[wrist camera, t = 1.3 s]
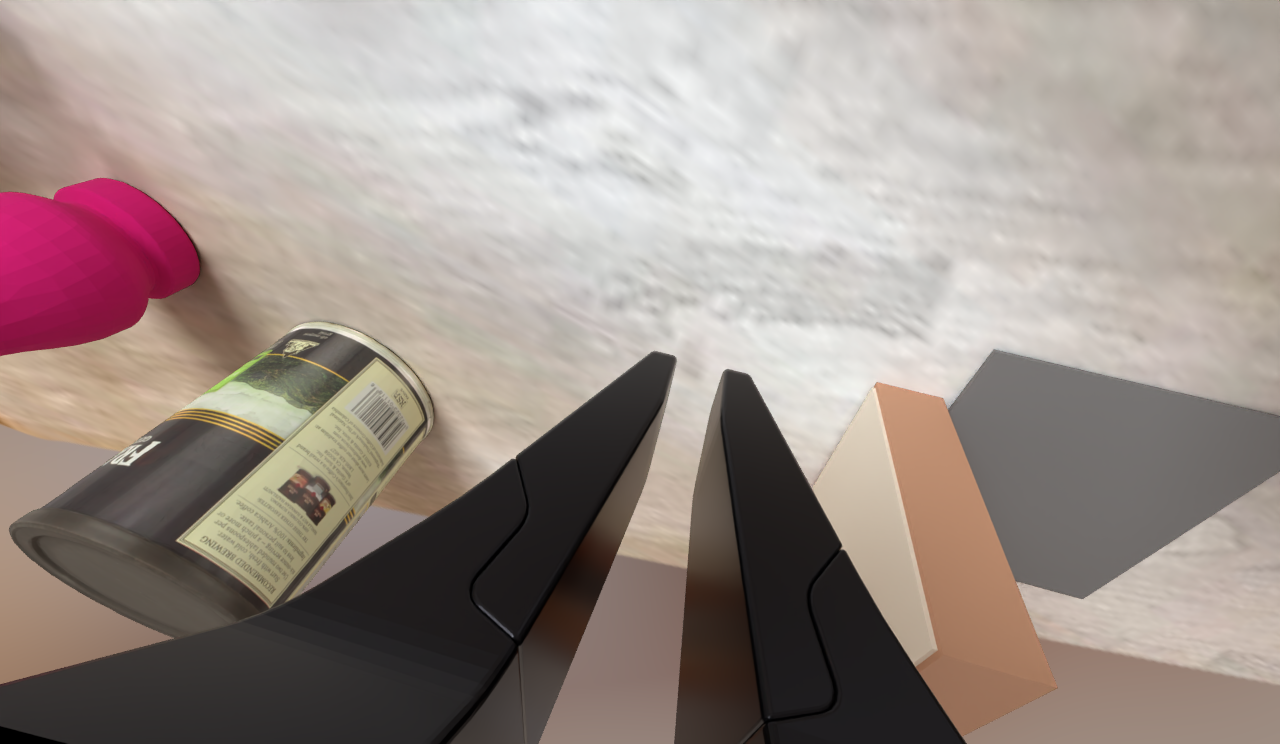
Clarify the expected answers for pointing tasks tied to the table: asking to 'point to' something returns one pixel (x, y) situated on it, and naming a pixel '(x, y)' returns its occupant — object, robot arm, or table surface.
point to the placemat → (1100, 466)
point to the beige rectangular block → (933, 556)
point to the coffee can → (238, 486)
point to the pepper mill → (85, 263)
